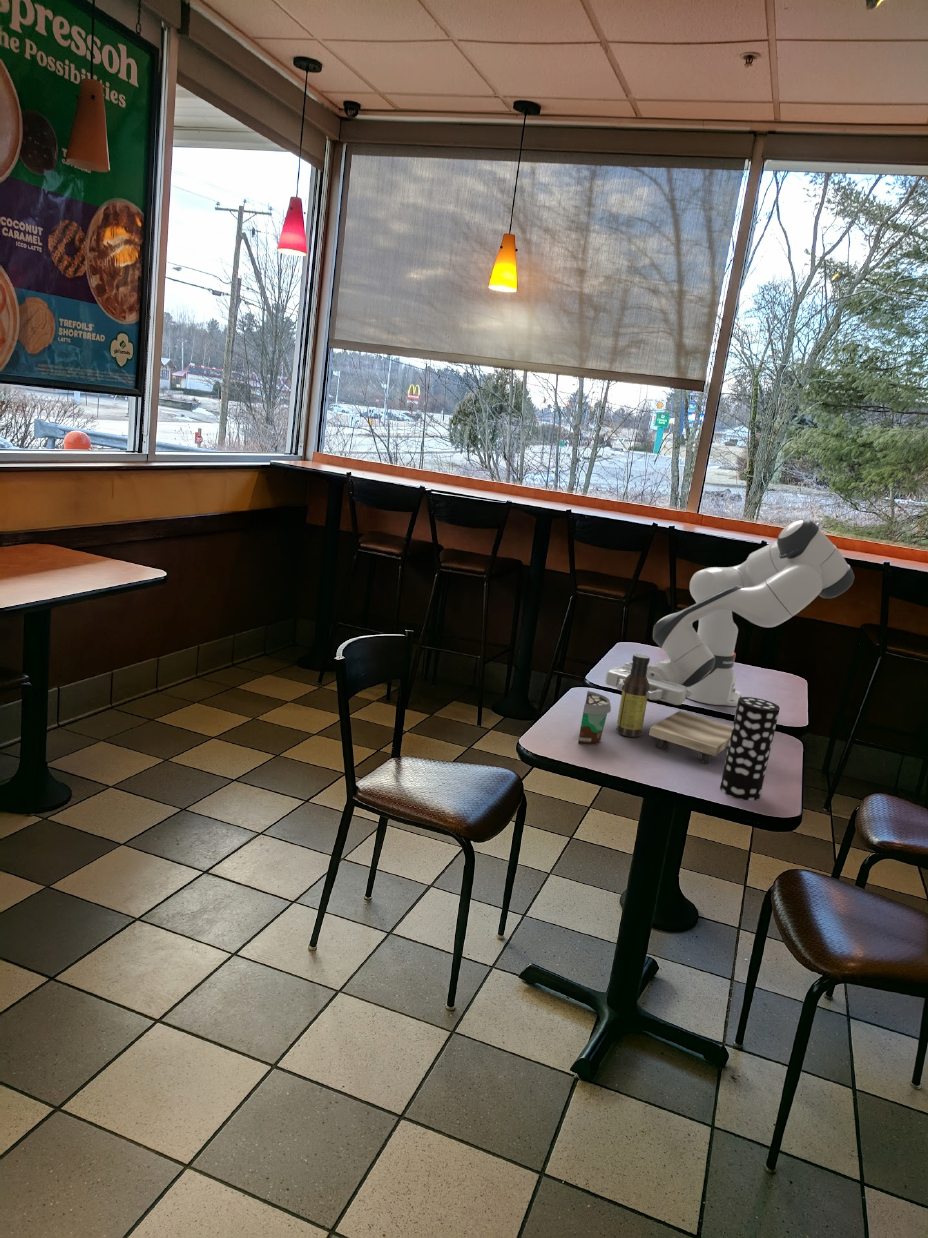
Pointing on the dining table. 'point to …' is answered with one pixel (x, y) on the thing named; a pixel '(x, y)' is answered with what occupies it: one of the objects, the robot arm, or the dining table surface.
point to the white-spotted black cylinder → (749, 748)
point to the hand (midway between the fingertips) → (634, 691)
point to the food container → (593, 718)
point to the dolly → (693, 733)
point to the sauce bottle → (634, 698)
